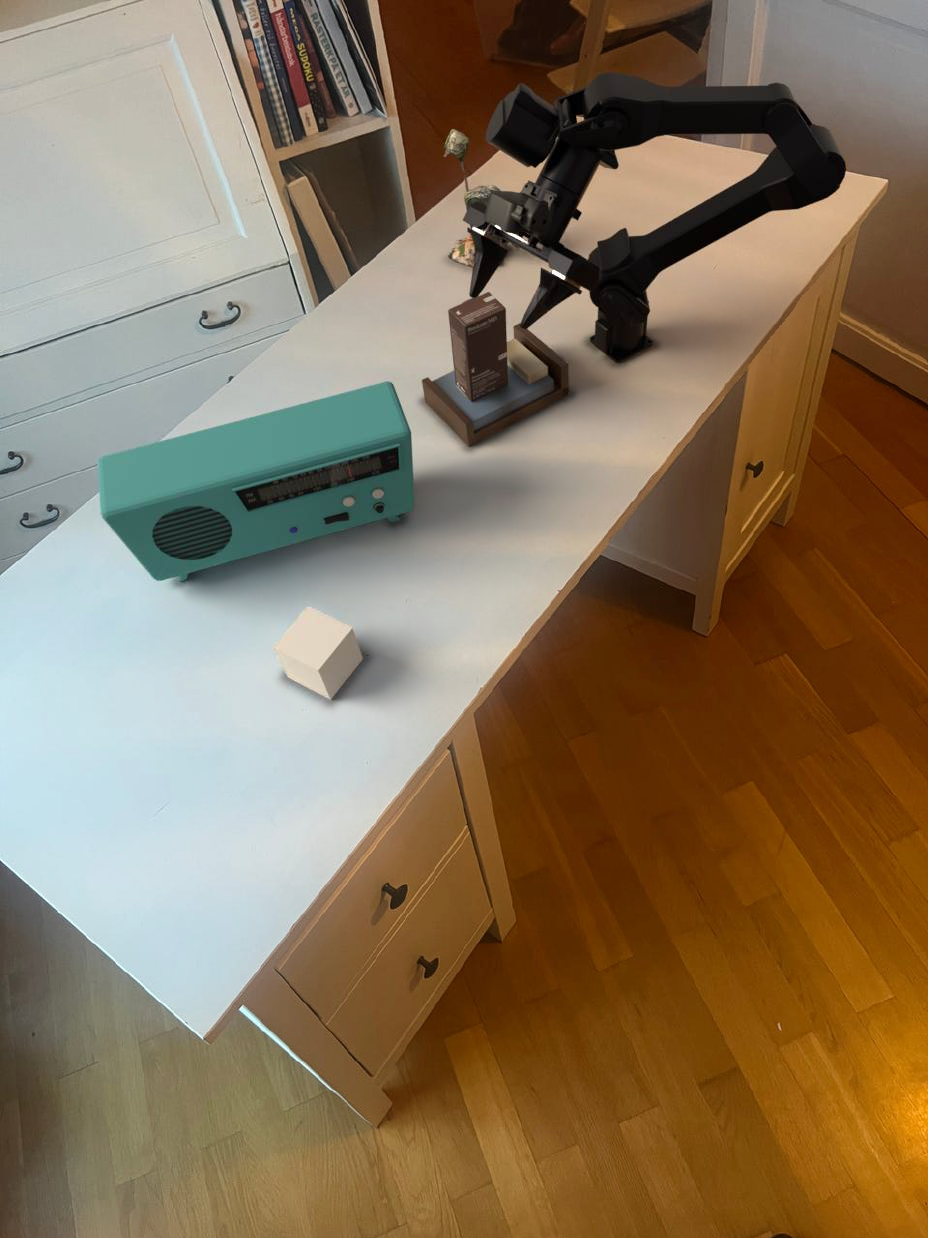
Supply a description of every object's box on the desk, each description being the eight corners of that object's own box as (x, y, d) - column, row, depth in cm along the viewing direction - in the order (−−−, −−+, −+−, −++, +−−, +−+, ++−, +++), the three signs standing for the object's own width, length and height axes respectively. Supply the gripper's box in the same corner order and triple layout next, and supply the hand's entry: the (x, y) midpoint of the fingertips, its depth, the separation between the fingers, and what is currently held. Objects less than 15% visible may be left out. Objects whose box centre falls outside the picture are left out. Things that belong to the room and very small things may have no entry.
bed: (521, 353, 124) (520, 322, 120) (568, 394, 118) (568, 363, 114) (425, 402, 120) (420, 371, 116) (468, 447, 115) (465, 416, 110)
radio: (153, 606, 104) (98, 521, 92) (147, 542, 110) (95, 454, 98) (430, 528, 107) (413, 436, 95) (410, 470, 113) (391, 376, 101)
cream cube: (330, 700, 94) (317, 670, 90) (287, 677, 97) (272, 647, 92) (363, 658, 97) (352, 627, 92) (320, 636, 99) (307, 605, 94)
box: (472, 404, 114) (464, 326, 104) (454, 386, 117) (445, 307, 107) (511, 385, 116) (507, 306, 106) (493, 367, 118) (487, 288, 108)
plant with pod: (500, 280, 135) (491, 148, 118) (441, 259, 139) (424, 129, 123) (529, 252, 138) (525, 120, 122) (471, 233, 143) (459, 103, 126)
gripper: (466, 133, 102) (407, 262, 107) (584, 188, 93) (512, 327, 98) (519, 171, 111) (462, 289, 116) (631, 225, 102) (563, 350, 107)
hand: (496, 312), depth 109 cm, fingers open, 9 cm apart
